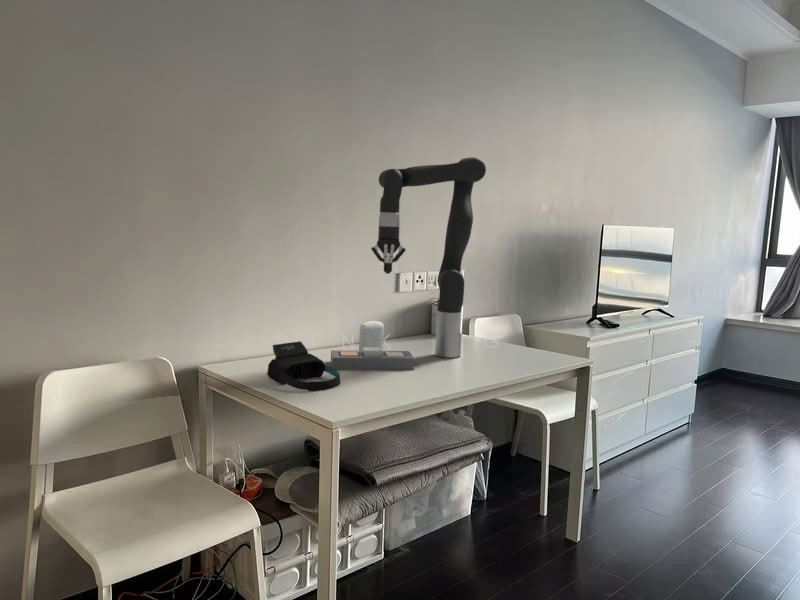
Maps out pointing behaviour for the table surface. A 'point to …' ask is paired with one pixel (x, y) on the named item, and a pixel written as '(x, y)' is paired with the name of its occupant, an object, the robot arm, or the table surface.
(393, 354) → the cream key
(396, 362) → the panel
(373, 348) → the sage key
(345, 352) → the terracotta key
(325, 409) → the table surface
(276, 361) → the virtual reality headset
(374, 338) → the photo printer
